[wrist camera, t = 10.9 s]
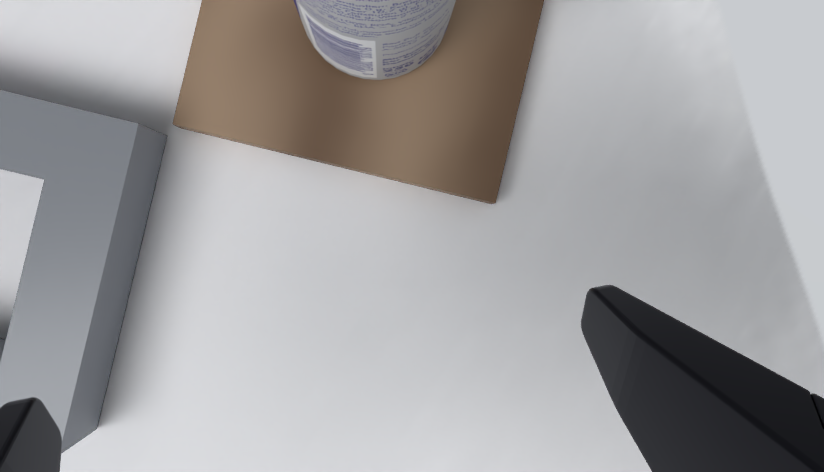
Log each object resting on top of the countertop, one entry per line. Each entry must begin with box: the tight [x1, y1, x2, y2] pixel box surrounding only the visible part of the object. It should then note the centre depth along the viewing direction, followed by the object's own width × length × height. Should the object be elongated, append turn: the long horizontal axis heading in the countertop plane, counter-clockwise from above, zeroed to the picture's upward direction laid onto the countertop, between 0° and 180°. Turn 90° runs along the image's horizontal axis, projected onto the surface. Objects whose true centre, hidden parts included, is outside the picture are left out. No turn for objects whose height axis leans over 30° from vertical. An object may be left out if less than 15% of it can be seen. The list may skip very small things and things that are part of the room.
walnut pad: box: [173, 0, 544, 204], centre depth 21 cm, size 12×12×1 cm
